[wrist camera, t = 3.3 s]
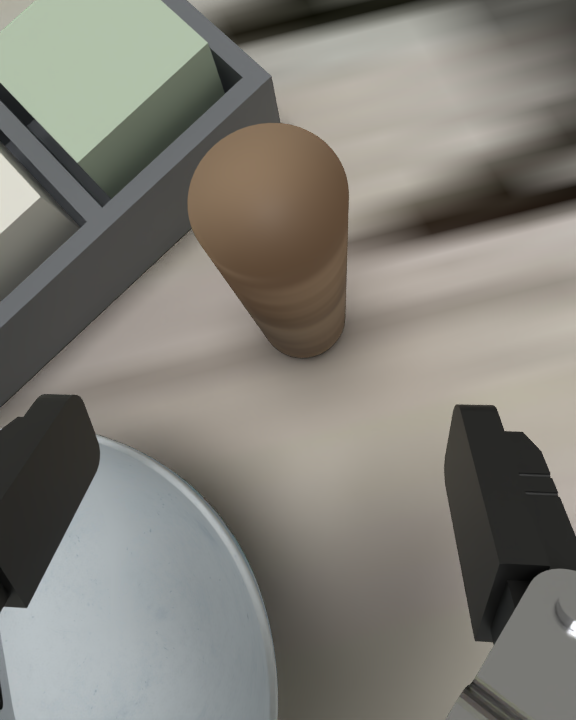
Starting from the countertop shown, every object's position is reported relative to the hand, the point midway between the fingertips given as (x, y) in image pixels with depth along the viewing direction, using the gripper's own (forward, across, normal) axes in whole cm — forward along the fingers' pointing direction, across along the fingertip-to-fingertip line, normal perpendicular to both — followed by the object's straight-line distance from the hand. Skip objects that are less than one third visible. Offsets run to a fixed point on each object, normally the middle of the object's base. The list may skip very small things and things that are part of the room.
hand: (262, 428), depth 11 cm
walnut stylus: (+12, 0, +4) cm, 12 cm away
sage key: (+16, +8, -4) cm, 18 cm away
